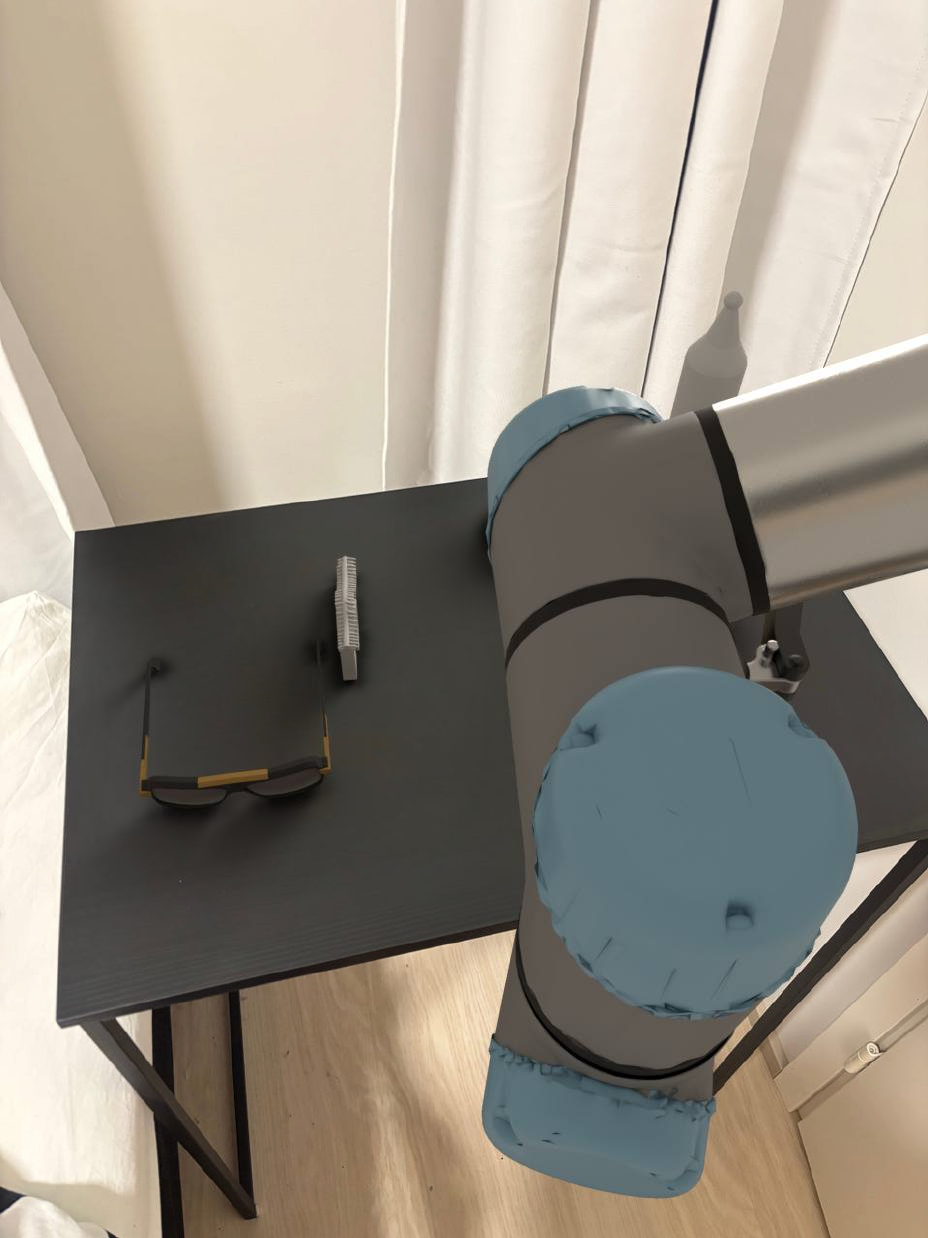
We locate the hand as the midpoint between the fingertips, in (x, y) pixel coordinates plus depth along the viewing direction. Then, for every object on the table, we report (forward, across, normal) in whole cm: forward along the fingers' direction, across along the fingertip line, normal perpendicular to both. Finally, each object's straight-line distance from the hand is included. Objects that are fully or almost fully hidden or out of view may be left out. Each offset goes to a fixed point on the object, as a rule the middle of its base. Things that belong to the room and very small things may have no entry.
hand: (686, 433), depth 54 cm
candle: (-5, 0, -13) cm, 14 cm away
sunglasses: (-9, -29, -30) cm, 43 cm away
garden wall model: (+3, -24, -30) cm, 39 cm away
